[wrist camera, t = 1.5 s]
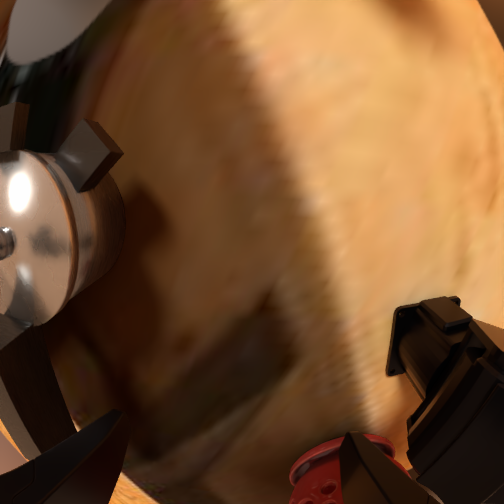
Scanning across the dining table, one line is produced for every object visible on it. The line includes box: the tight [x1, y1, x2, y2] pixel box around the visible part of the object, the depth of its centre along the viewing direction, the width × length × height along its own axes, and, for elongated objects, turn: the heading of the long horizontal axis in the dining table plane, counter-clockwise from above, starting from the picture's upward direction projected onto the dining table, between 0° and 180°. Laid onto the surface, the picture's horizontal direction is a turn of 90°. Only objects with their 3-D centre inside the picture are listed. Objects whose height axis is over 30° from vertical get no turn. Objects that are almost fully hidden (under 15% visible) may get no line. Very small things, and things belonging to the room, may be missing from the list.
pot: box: [0, 118, 125, 316], centre depth 17 cm, size 23×10×6 cm, turn 131°
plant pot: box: [289, 434, 412, 504], centre depth 19 cm, size 13×13×12 cm
